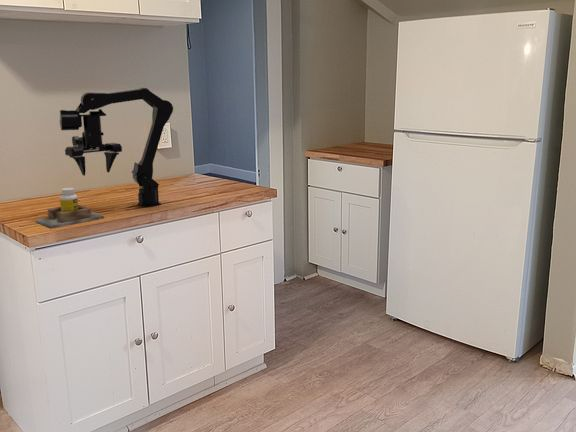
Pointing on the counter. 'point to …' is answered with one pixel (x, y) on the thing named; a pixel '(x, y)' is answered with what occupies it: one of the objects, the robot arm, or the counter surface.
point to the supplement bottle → (68, 200)
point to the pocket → (67, 217)
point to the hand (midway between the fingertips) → (96, 173)
